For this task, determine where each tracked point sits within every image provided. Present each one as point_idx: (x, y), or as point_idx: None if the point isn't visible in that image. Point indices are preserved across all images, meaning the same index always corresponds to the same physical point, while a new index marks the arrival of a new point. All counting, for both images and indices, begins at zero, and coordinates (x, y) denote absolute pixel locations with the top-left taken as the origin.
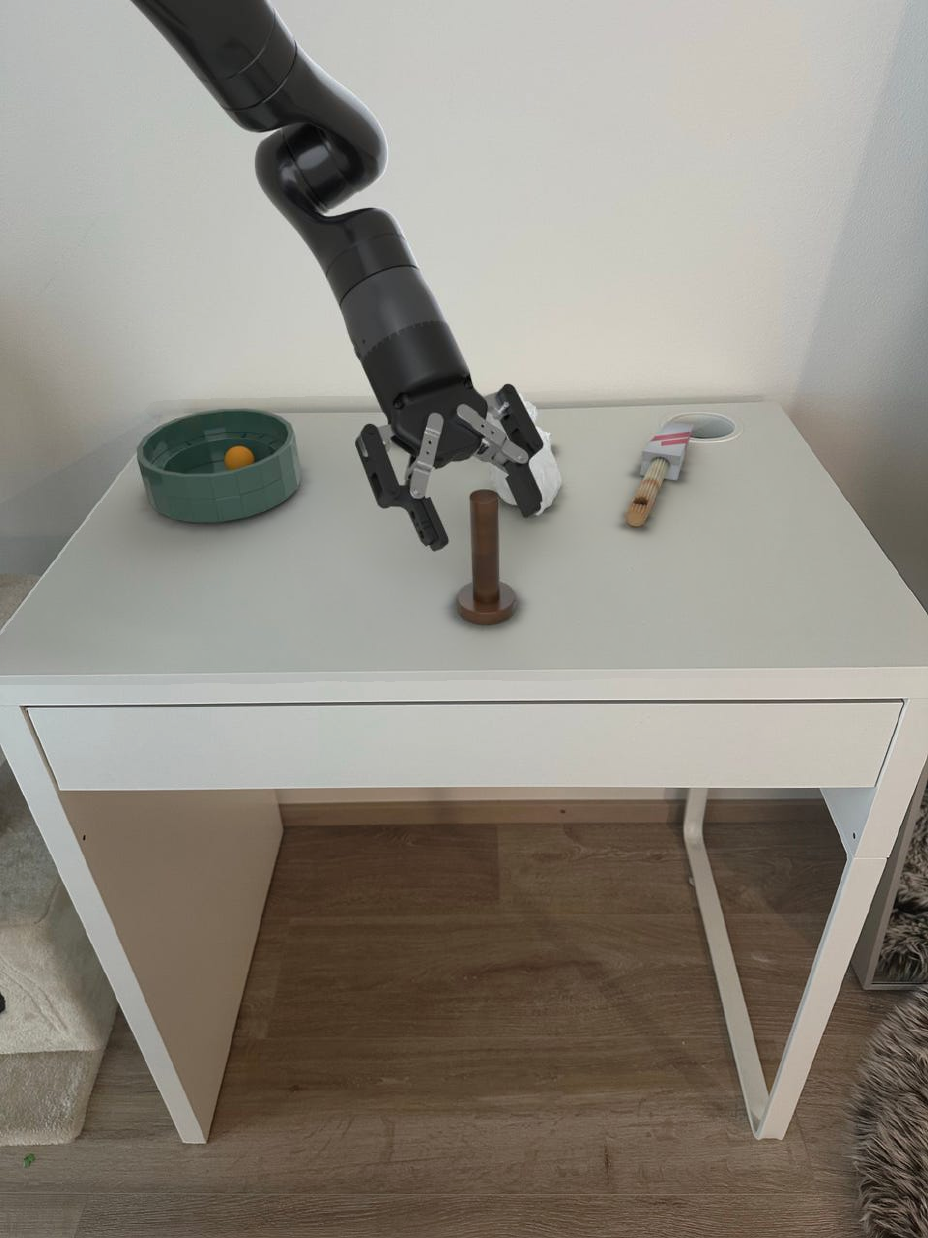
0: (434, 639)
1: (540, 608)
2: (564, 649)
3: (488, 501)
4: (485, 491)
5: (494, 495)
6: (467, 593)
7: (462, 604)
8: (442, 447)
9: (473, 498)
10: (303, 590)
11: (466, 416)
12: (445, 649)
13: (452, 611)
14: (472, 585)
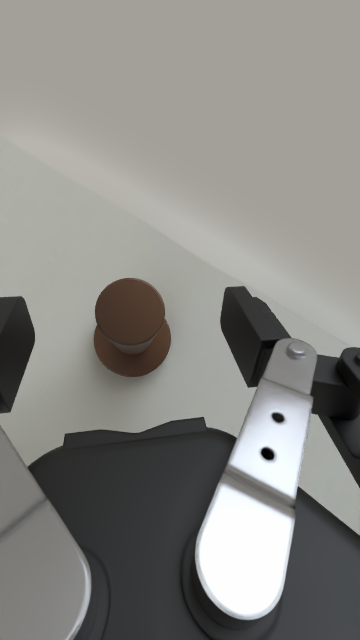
0: (213, 318)
1: (76, 305)
2: (98, 228)
3: (135, 280)
4: (116, 326)
5: (107, 299)
6: (151, 356)
7: (168, 338)
8: (201, 453)
9: (157, 312)
10: (312, 493)
11: (47, 554)
12: (210, 296)
13: (172, 355)
14: (136, 369)
